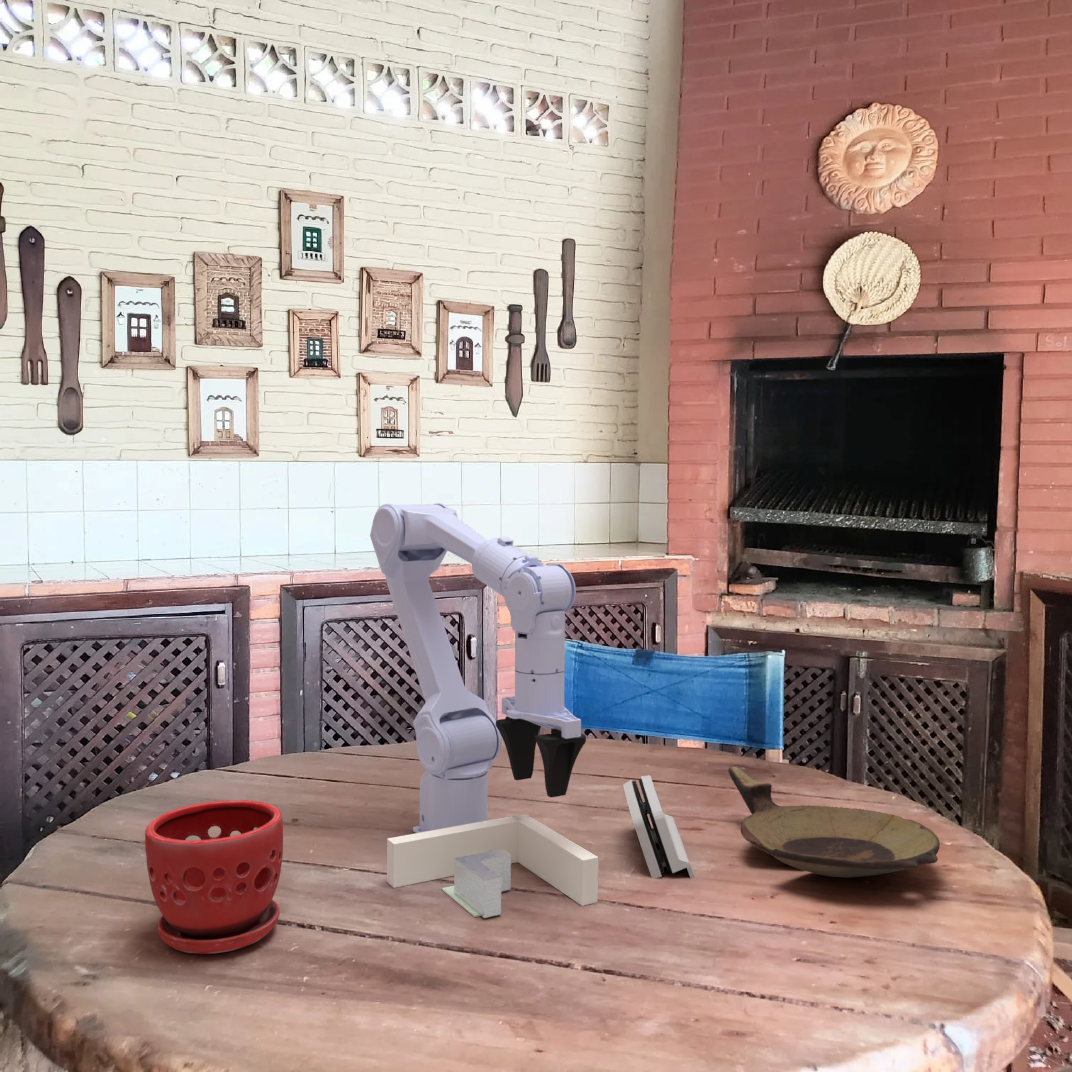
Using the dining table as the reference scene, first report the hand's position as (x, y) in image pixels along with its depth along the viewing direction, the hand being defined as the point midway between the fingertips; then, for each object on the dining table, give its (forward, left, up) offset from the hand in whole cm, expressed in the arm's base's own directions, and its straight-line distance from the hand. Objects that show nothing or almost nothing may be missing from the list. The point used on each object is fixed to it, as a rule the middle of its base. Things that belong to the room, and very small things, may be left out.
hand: (539, 786), depth 118 cm
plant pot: (-2, -36, -11) cm, 38 cm away
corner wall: (+2, -7, -10) cm, 13 cm away
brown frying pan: (+12, +34, -11) cm, 38 cm away
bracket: (+4, -8, -10) cm, 14 cm away
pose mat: (+3, -8, -10) cm, 13 cm away
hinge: (0, +17, -11) cm, 20 cm away
